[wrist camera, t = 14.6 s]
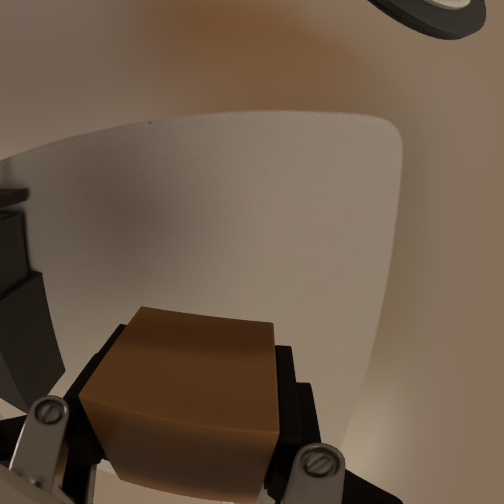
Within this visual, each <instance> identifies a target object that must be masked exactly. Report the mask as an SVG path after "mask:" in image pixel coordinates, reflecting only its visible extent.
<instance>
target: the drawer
mask: <svg viewBox="0 0 504 504" xmlns="http://www.w3.org/2000/svg"><path fill="white" fill-rule="evenodd" d="M22 201H26V189H0V208H3V207H6V206H9V205H12V204H16V203H19V202H22ZM28 278H29V276H28V270H27V263H26V256H25V249H24V240H23V230H22V217H21V213H14V212H1V211H0V297H1V296H2V295H4V294H5V293H7V292H8V291H10V290H11V289H13V288H14V287H16V286H17V285H19V284H20V283H22V282H23V281H25V280H26V279H28Z"/></svg>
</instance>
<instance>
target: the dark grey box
mask: <svg viewBox="0 0 504 504" xmlns="http://www.w3.org/2000/svg"><path fill="white" fill-rule="evenodd" d="M28 276H29V278H28V279H26V280H25V281H23V282H22V283H20V284H19V285H17V286H16V287H14V288H13V289H11V290H10V291H8V292H7V293H5V294H4V295H2V296H1V297H0V398H2V399H3V400H5V401H6V402H8V403H10V404H11V405H13V406H15V407H16V408H18V409H20V410H21V411H23V412H25V413H27V414H28V413H29V410H30V408H31V406H32V404H33V403H34V402H35V401H36V400H37V399H39V398H41V397H43V396H47V395H48V393H49V392H50V391H51V389H52V388H53V387H54V385H55V384H56V383H57V381H58V380H59V379H60V377H61V376H62V375H63V374H64V372H65V368H64V365H63V361H62V358H61V355H60V352H59V348H58V345H57V341H56V338H55V334H54V330H53V326H52V322H51V318H50V313H49V309H48V304H47V299H46V294H45V289H44V283H43V277H42V273H39V272H35V271H31V270H28Z"/></svg>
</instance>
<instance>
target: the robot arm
mask: <svg viewBox="0 0 504 504" xmlns="http://www.w3.org/2000/svg"><path fill="white" fill-rule="evenodd" d="M423 1H425V2H427V3H429V4H431V5H434V6H436V7H439V8H443V9H447V10H458V9H461V8H463V7H465V6H467V5H468V4H469V3H470V1H471V0H423ZM126 326H127V325H124V324H120V325H119V326H118V327H117V328H116V330H115V331H114V332H113V334H112V335H111V336H110V338H109V339H108V340H107V342H106V343H105V344H104V346H103V347H102V348H101V350H100V351H99V352H98V353H96V354H95V355H94V356H93V357H92V358H91V360H90V361H89V362H88V364H87V365H86V366H85V368H84V369H83V370H82V372H81V373H80V375H79V376H78V377H77V379H76V380H75V382H74V383H73V384H72V386H71V387H70V389H69V390H68V391H67V393H66V394H65V396H64V397H63V399H62V398H61V397H58V396H54V395H48V396H43V397H41V398H39V399H37V400H36V401H35V402H34V403H33V404H32V406H31V408H30V410H29V413H28V415H24V416H19V417H15V418H10V419H5V420H0V504H93V497H94V486H95V476H96V469H97V464H98V463H100V462H101V460H102V459H104V460H107V461H109V460H108V458H107V456H106V454H105V452H104V450H103V448H102V446H101V444H100V442H99V440H98V438H97V436H96V434H95V432H94V430H93V428H92V426H91V424H90V421H89V419H88V417H87V415H86V412H85V410H84V407H83V405H82V403H81V400H80V398H79V394H80V392H81V391H82V389H83V388H84V386H85V385H86V383H87V382H88V380H89V379H90V377H91V376H92V374H93V373H94V371H95V370H96V368H97V367H98V366H99V364H100V363H101V361H102V360H103V358H104V357H105V355H106V354H107V353H108V351H109V350H110V348H111V347H112V346H113V344H114V343H115V341H116V340H117V339H118V337H119V336H120V334H121V333H122V332H123V330H124V329H125V328H126ZM275 357H276V373H277V391H278V409H279V428H280V433H279V437H278V440H277V443H276V446H275V449H274V453H273V456H272V459H271V462H270V465H269V468H268V471H267V474H266V477H265V480H264V489H267V495H268V496H270V497H271V498H272V499H273V500H275V501H274V504H403V503H402V501H401V500H400V499H399V498H397V497H396V496H394V495H392V494H390V493H388V492H386V491H384V490H382V489H380V488H378V487H377V486H375V485H373V484H371V483H369V482H367V481H366V480H364V479H362V478H360V477H359V476H357V475H355V474H353V473H352V472H350V471H348V470H347V469H345V458H344V457H343V455H342V453H341V452H340V451H339V450H338V449H337V448H335V447H333V446H331V445H329V444H325V443H321V437H320V431H319V425H318V420H317V414H316V409H315V403H314V398H313V393H312V387H311V384H310V383H299V382H296V377H295V370H294V362H293V355H292V348H291V346H281V345H275Z"/></svg>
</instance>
